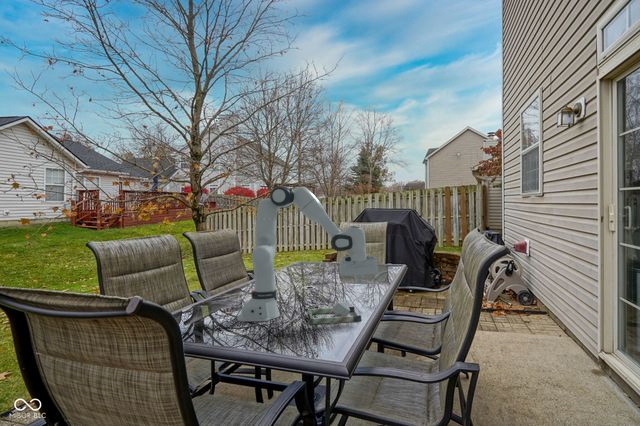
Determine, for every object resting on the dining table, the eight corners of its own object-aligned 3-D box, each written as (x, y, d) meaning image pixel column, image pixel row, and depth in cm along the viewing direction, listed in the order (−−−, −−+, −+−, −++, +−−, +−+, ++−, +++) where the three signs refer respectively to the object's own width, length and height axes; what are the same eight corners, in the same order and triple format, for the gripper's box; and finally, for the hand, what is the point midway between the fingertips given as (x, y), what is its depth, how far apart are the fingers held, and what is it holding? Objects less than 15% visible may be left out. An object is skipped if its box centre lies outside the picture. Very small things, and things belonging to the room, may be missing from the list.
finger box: (311, 325, 171) (310, 319, 171) (309, 314, 191) (308, 309, 191) (361, 321, 173) (361, 315, 173) (354, 311, 193) (354, 306, 193)
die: (352, 316, 184) (344, 300, 189) (352, 312, 177) (344, 295, 182) (338, 323, 183) (331, 306, 188) (337, 319, 176) (329, 302, 181)
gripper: (375, 255, 188) (377, 281, 188) (338, 257, 186) (339, 283, 186) (378, 256, 182) (380, 283, 181) (339, 258, 180) (341, 285, 179)
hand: (359, 283), depth 184 cm, fingers closed
